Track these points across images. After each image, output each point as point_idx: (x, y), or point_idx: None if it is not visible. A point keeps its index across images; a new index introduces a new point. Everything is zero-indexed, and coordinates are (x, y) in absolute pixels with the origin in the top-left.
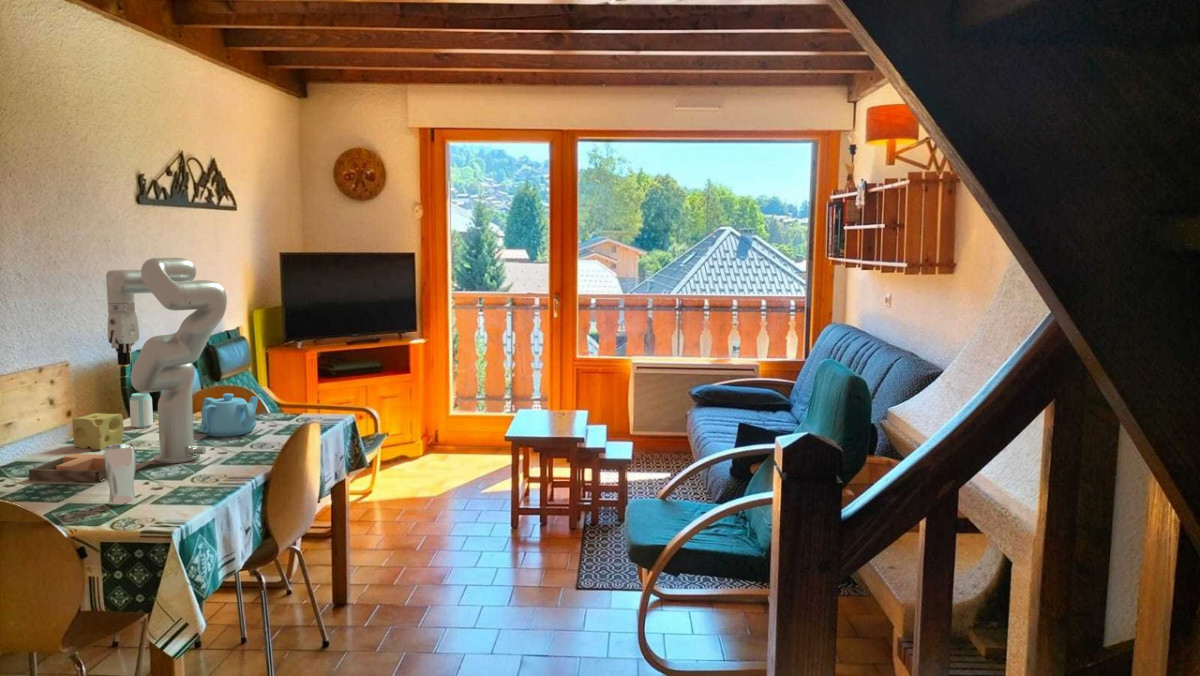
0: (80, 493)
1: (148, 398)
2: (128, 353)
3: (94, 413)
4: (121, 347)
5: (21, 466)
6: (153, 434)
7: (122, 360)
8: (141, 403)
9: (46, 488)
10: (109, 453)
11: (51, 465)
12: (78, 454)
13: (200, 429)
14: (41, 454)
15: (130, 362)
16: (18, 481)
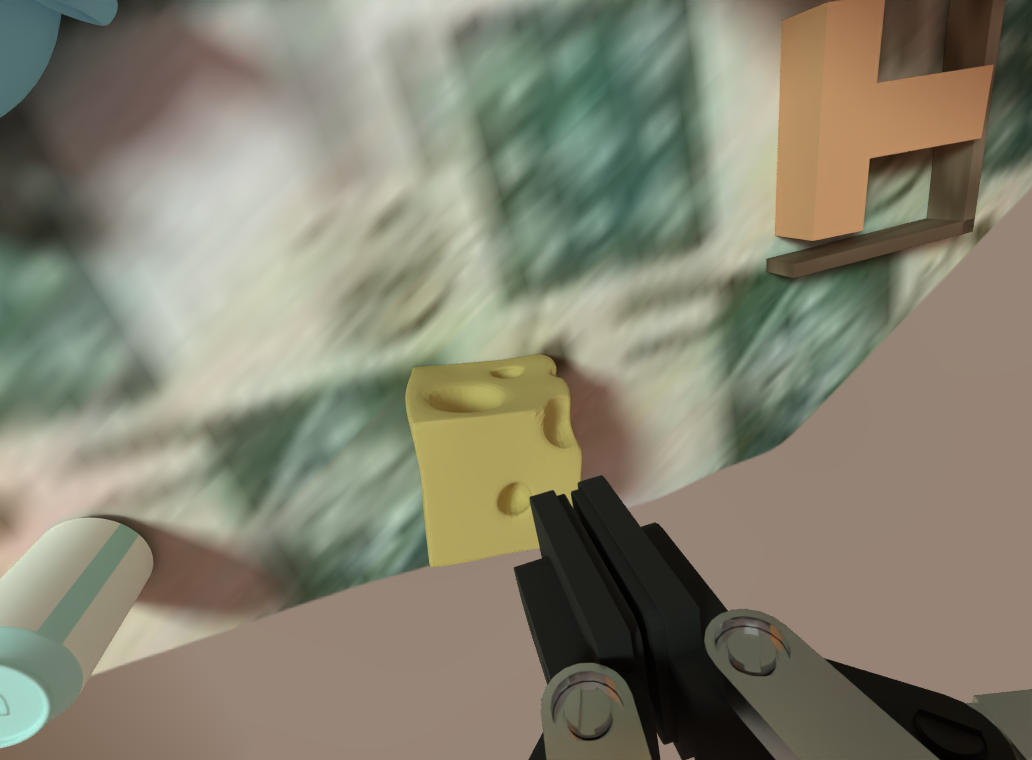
0: None
1: None
2: (629, 616)
3: (445, 563)
4: (925, 724)
5: (784, 407)
6: (206, 372)
7: (670, 549)
8: (57, 618)
9: (1022, 82)
10: None
11: (876, 240)
12: (822, 205)
13: (115, 5)
14: (644, 487)
15: (533, 507)
16: (941, 255)
